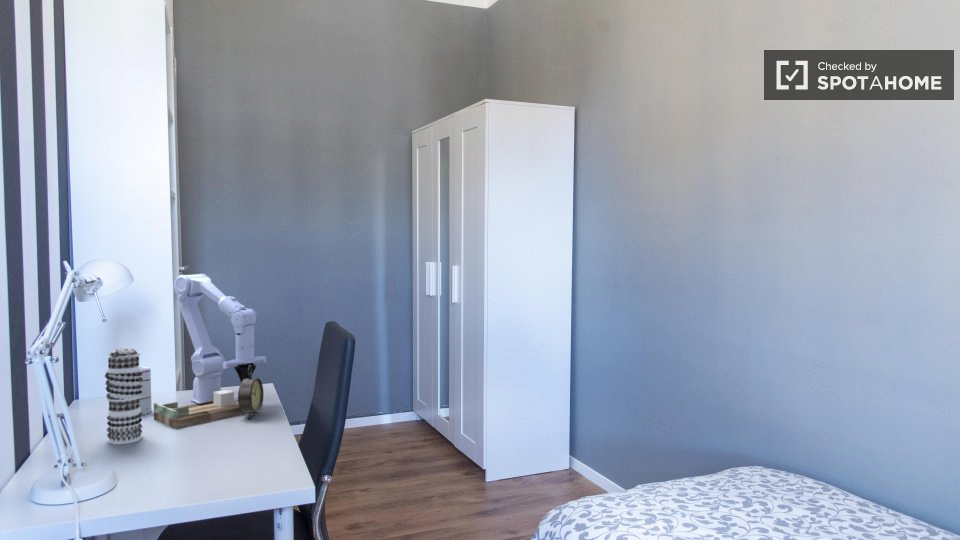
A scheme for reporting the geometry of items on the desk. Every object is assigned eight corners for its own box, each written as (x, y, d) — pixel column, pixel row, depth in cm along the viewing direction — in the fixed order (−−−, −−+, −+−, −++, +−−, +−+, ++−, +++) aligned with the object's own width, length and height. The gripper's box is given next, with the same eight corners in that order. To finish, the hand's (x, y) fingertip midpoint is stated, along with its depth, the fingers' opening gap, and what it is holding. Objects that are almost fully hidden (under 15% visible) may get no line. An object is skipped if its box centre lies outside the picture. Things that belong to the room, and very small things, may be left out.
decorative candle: (104, 446, 176) (102, 353, 175) (107, 436, 185) (106, 348, 183) (142, 442, 180) (141, 351, 179) (144, 433, 188) (143, 346, 187)
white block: (213, 404, 212) (213, 392, 212) (226, 401, 215) (226, 389, 215) (220, 406, 209) (220, 394, 209) (233, 404, 212) (233, 391, 212)
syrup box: (152, 412, 210) (151, 367, 209) (134, 416, 205) (133, 370, 204) (142, 409, 213) (141, 365, 212) (124, 413, 208) (123, 368, 207)
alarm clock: (252, 420, 202) (252, 368, 201) (234, 420, 202) (234, 368, 201) (264, 411, 213) (264, 361, 212) (248, 411, 213) (247, 361, 212)
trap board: (153, 419, 202) (153, 403, 202) (227, 404, 220) (227, 390, 220) (175, 428, 193) (175, 411, 193) (249, 412, 211) (249, 397, 211)
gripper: (230, 350, 209) (231, 392, 209) (271, 344, 220) (271, 385, 220) (219, 347, 213) (219, 389, 214) (259, 342, 224) (259, 381, 225)
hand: (245, 386), depth 217 cm, fingers closed
